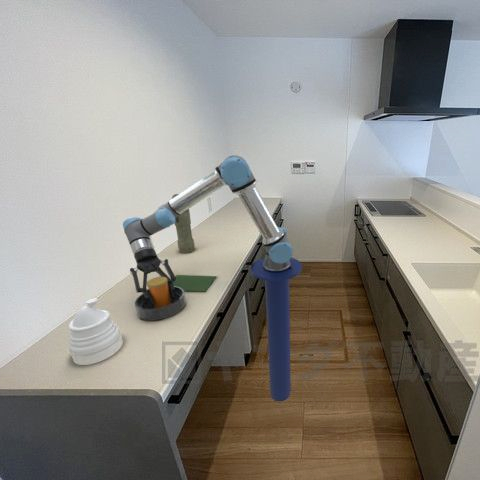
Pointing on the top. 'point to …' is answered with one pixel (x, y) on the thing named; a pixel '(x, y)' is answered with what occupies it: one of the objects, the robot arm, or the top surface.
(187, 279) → the mat
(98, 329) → the honey pot
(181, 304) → the bowl
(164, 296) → the tea tin
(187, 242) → the green elongated piece
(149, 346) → the top surface
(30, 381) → the top surface
